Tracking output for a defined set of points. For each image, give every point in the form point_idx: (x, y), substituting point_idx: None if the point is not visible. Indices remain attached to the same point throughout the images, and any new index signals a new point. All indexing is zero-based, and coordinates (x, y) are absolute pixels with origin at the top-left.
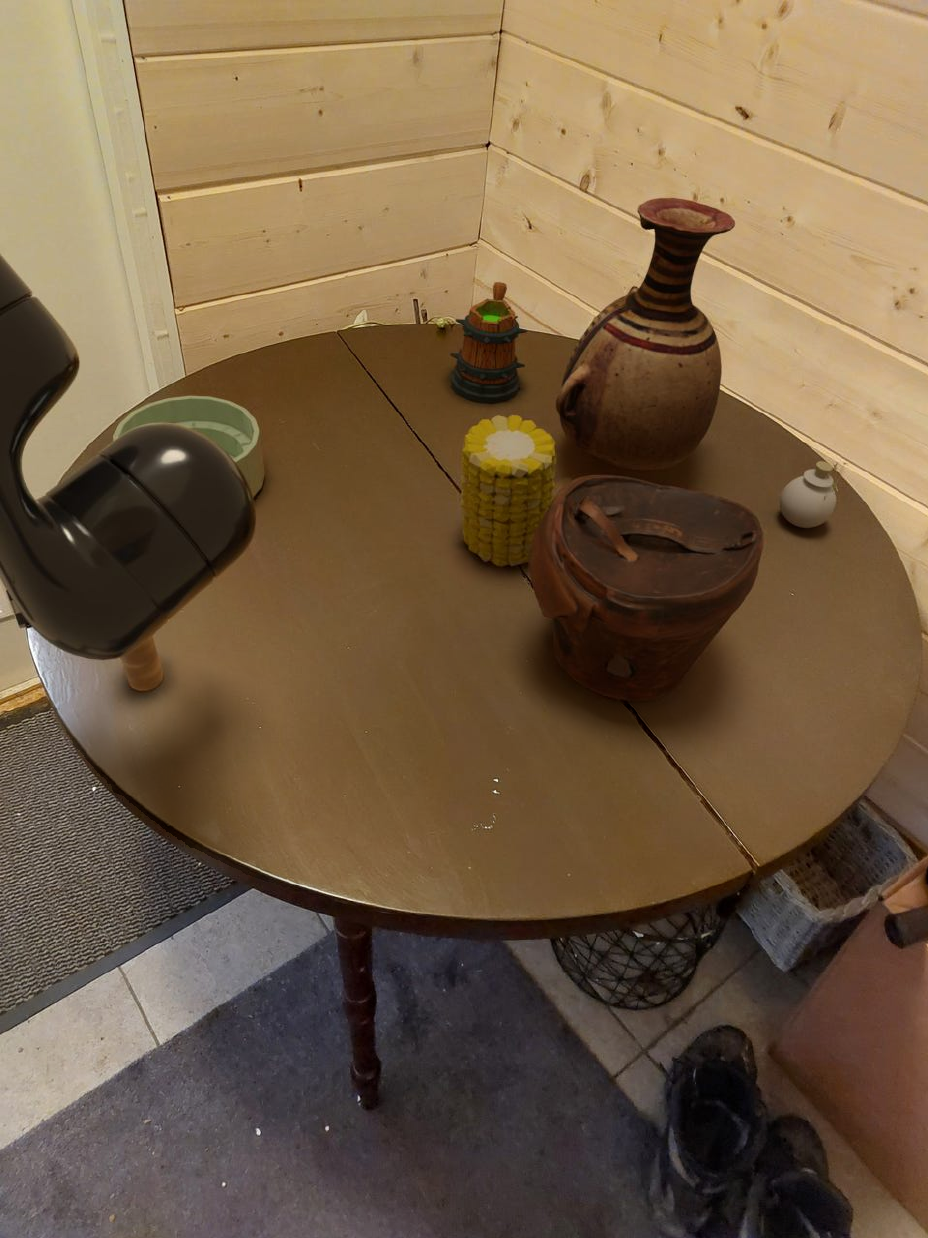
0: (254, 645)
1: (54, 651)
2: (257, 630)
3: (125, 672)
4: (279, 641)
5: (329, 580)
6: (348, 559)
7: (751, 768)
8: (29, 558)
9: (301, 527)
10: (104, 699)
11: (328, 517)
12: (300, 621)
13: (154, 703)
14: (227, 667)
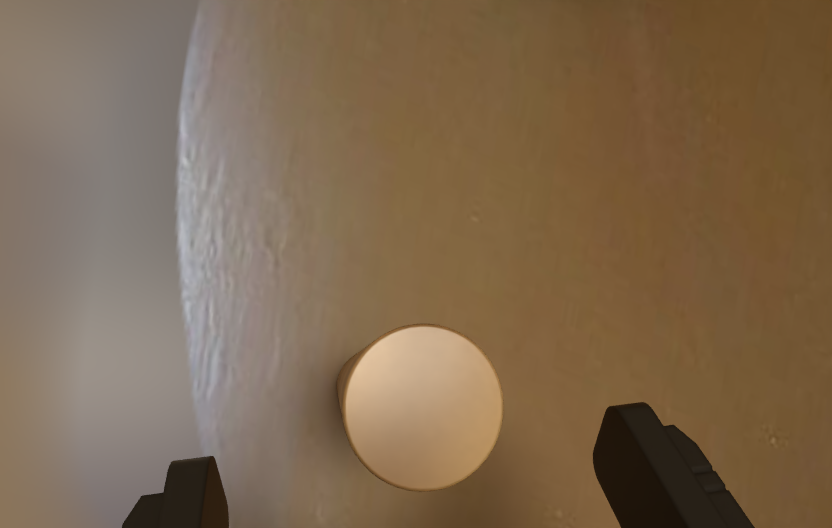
0: (597, 368)
1: (203, 240)
2: (610, 327)
3: (337, 392)
4: (646, 374)
5: (770, 237)
6: (815, 191)
7: None
8: None
9: (743, 66)
10: (280, 416)
11: (799, 57)
12: (696, 332)
13: None
14: (535, 411)
